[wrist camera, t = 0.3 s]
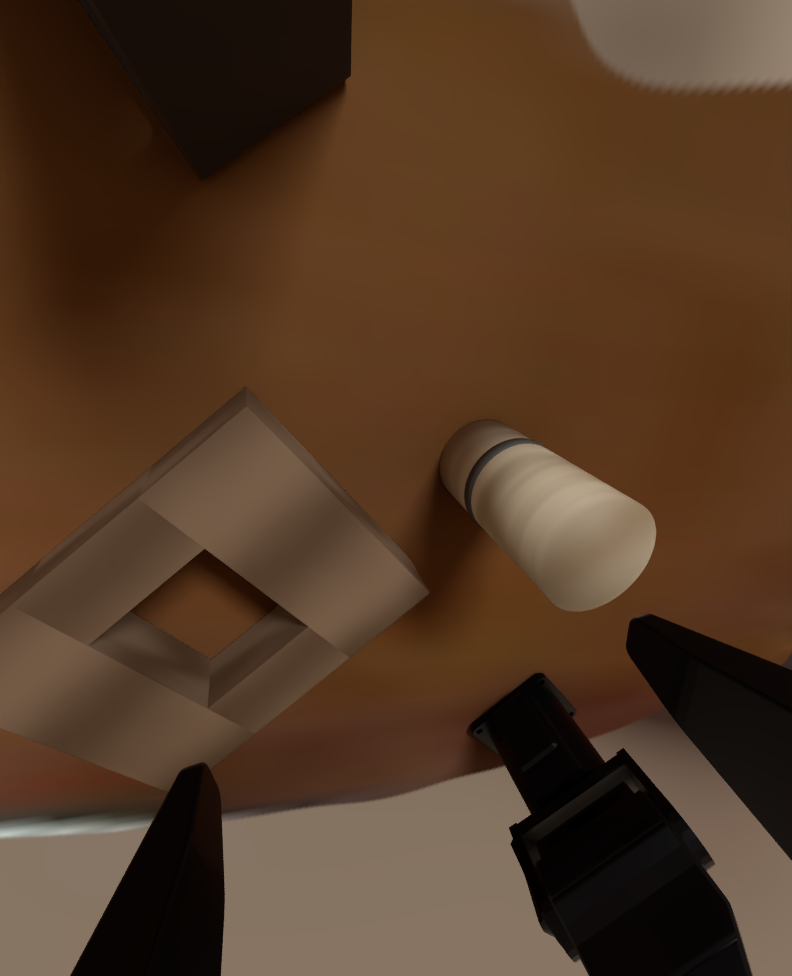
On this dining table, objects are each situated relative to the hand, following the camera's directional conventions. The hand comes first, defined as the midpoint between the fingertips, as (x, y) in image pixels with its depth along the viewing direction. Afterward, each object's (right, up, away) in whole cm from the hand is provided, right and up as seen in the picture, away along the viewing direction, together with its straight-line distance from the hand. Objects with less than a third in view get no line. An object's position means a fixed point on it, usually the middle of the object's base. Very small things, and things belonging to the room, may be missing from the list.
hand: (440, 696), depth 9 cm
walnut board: (-10, -1, +12) cm, 16 cm away
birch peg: (+3, +5, +14) cm, 15 cm away
